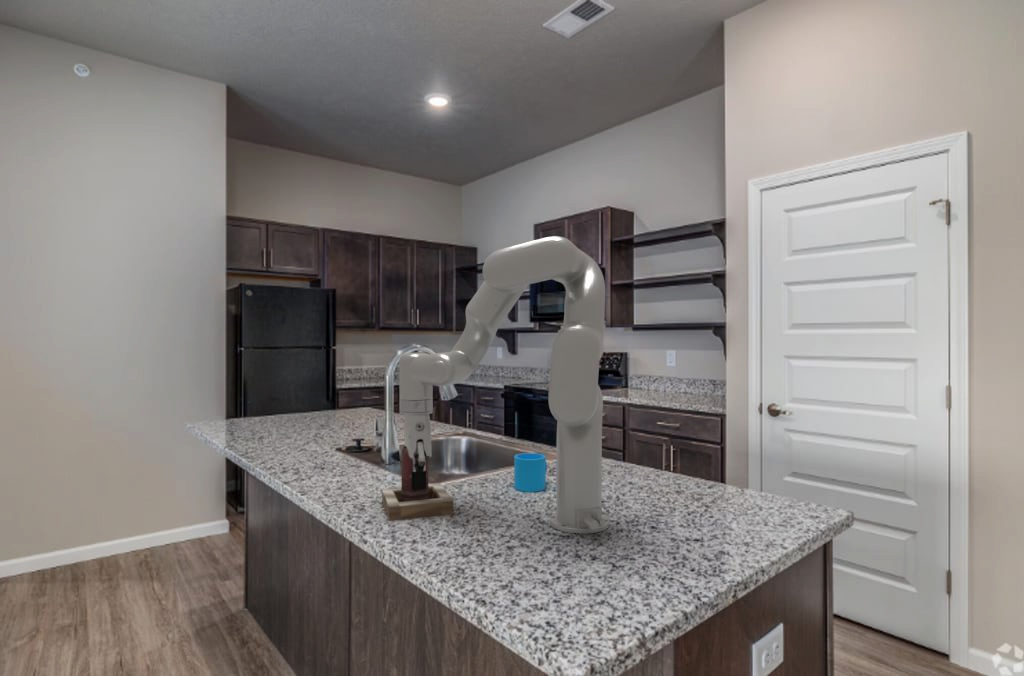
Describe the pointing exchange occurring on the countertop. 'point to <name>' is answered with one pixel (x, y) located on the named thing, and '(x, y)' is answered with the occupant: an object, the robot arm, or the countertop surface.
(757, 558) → the countertop surface
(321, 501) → the countertop surface
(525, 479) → the mug
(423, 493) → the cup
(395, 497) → the socket block
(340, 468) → the countertop surface
